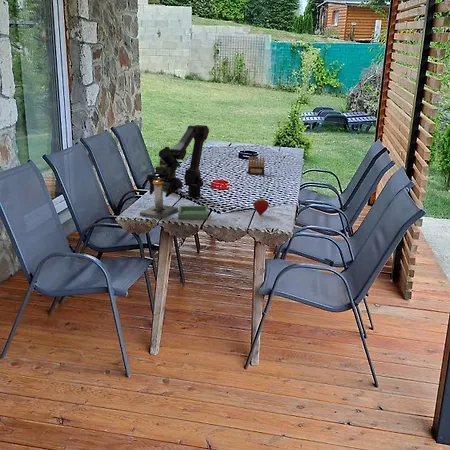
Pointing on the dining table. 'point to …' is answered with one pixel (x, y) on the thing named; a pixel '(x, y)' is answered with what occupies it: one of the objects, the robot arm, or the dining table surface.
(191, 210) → the parts tray
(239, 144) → the dining table surface
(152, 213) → the plate
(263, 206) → the strawberry
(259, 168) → the ammunition clip
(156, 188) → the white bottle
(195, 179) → the robot arm
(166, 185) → the coffee jar
